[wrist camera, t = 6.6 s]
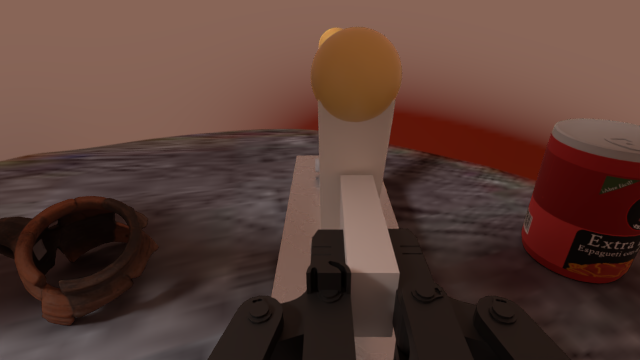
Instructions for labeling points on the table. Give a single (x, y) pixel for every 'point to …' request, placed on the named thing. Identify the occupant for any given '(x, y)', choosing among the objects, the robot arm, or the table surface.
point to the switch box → (296, 248)
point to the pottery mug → (76, 253)
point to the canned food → (587, 201)
